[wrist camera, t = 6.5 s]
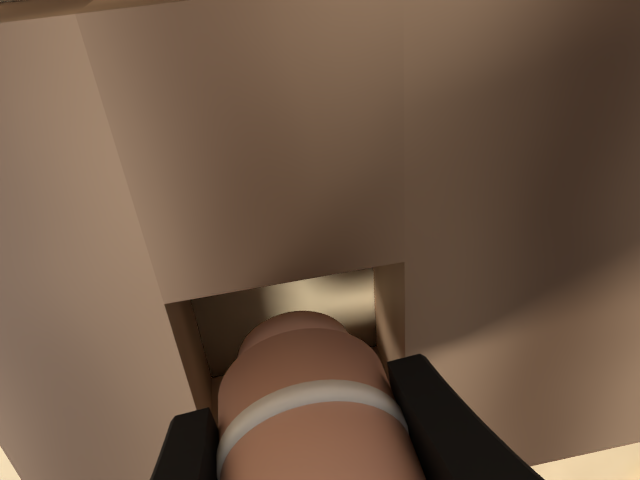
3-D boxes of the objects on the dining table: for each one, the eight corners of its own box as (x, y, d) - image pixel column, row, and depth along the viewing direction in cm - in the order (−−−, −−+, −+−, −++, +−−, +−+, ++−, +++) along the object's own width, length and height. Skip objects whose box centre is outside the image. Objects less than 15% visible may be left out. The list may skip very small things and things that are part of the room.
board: (757, -86, 10) (897, -85, 8) (624, 366, 17) (684, 432, 15) (-137, 18, 9) (-244, 52, 7) (94, 475, 15) (75, 567, 13)
